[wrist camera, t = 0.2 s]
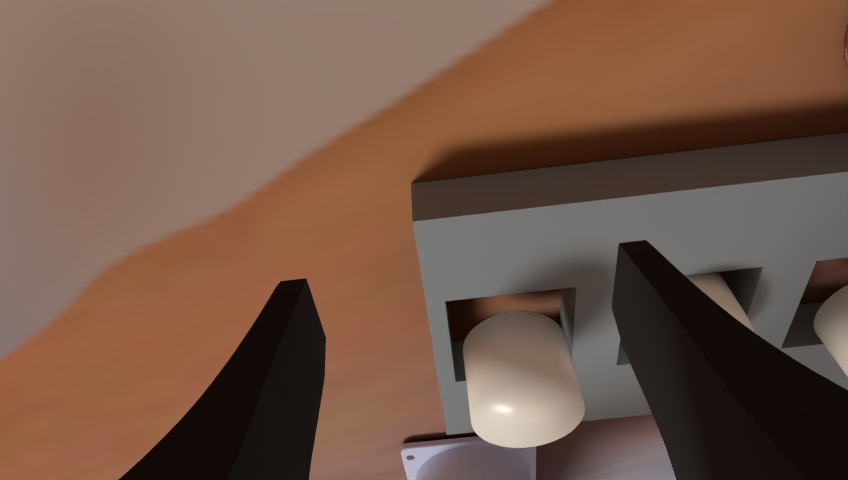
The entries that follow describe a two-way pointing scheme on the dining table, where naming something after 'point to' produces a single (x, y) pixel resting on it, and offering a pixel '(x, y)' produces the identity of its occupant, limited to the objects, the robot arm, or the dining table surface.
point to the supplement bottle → (846, 47)
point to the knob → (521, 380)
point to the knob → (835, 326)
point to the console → (626, 222)
